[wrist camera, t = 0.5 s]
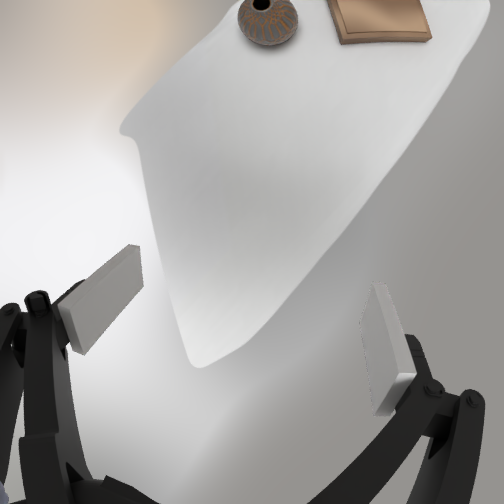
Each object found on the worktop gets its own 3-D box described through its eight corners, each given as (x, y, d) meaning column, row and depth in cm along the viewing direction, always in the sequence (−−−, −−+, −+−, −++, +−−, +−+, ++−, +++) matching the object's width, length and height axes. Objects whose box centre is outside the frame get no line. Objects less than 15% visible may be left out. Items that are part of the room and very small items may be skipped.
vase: (267, -3, 28) (256, -31, 20) (309, 24, 29) (309, -1, 21) (234, 32, 31) (214, 11, 23) (275, 60, 32) (266, 42, 24)
